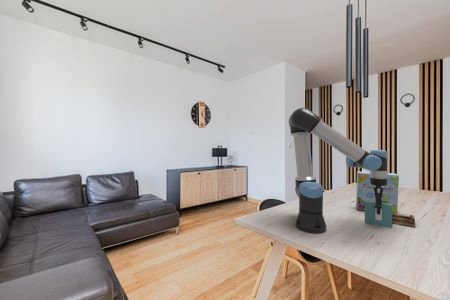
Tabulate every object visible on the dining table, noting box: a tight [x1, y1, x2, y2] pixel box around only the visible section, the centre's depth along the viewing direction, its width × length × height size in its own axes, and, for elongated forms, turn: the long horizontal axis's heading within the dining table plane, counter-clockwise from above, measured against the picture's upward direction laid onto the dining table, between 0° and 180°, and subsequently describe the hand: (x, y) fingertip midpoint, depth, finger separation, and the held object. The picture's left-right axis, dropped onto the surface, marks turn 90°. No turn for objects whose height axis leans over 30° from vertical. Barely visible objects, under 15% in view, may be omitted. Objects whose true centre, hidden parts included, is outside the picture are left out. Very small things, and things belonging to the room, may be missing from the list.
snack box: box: [355, 171, 400, 215], centre depth 135 cm, size 22×9×26 cm, turn 62°
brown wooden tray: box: [392, 214, 416, 229], centre depth 118 cm, size 18×12×4 cm, turn 54°
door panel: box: [364, 200, 393, 229], centre depth 114 cm, size 4×12×12 cm, turn 53°
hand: (378, 216), depth 114 cm, fingers open, 12 cm apart
